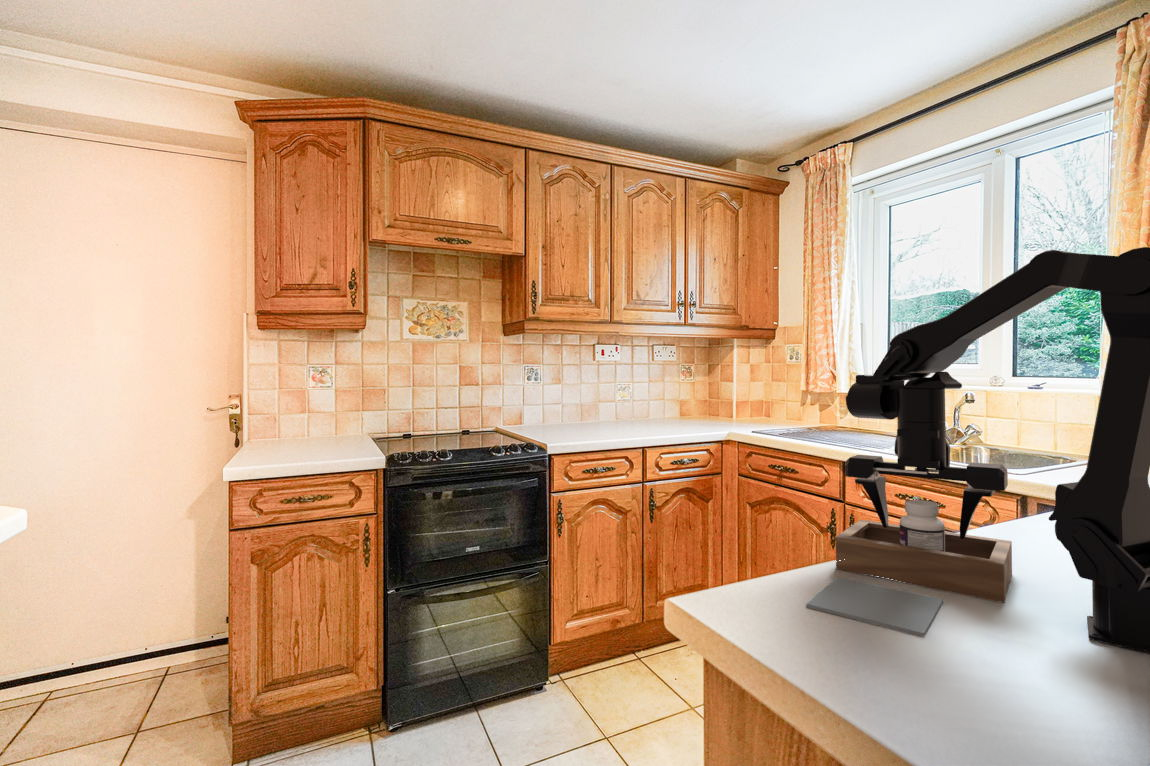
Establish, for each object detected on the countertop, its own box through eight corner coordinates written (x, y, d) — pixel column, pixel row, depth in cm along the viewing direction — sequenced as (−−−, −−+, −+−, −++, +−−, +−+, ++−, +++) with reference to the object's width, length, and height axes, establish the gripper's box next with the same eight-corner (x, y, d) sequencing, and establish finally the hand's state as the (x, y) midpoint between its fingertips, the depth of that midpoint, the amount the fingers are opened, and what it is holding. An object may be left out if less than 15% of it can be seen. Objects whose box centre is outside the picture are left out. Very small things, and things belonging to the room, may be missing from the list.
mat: (924, 637, 57) (924, 633, 57) (806, 607, 65) (806, 603, 65) (943, 602, 66) (943, 599, 66) (837, 579, 74) (837, 576, 74)
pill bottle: (903, 563, 81) (902, 497, 81) (947, 570, 77) (946, 501, 77) (896, 573, 77) (896, 503, 77) (943, 581, 73) (942, 508, 73)
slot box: (1004, 602, 66) (1003, 564, 66) (836, 568, 78) (835, 536, 79) (1012, 574, 76) (1011, 541, 76) (861, 548, 88) (860, 519, 88)
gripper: (1009, 420, 77) (1011, 532, 77) (863, 416, 89) (865, 512, 89) (1003, 425, 69) (1005, 550, 68) (843, 420, 81) (844, 526, 81)
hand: (922, 532), depth 77 cm, fingers open, 9 cm apart
